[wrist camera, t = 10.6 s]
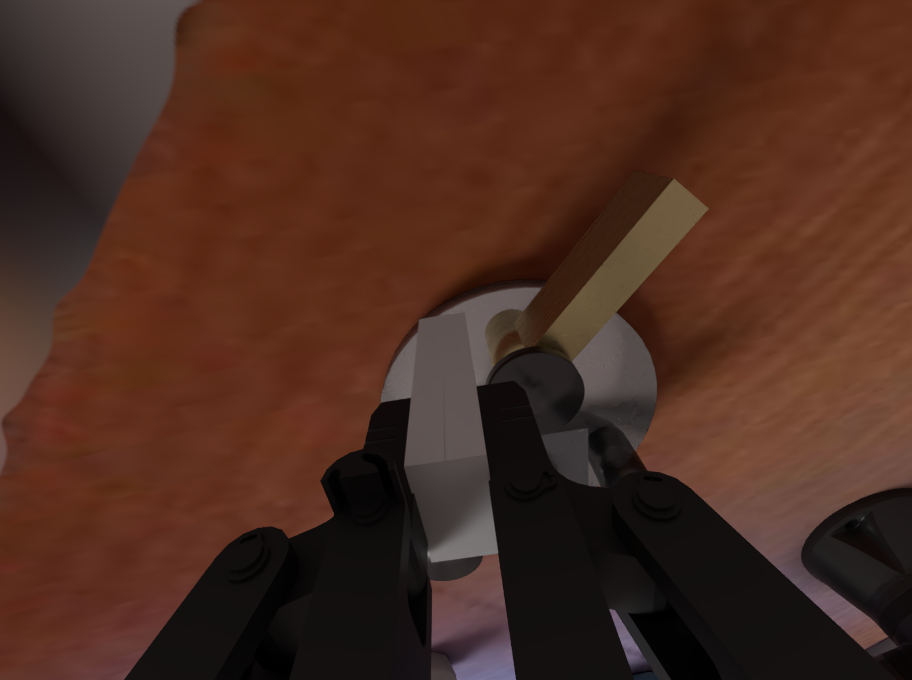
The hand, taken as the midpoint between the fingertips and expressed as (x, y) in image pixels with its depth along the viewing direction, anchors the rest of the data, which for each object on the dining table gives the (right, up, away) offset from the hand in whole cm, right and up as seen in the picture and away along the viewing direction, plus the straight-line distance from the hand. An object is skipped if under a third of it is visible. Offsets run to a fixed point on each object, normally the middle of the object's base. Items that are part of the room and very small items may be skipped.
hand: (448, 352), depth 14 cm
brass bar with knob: (+7, +4, +13) cm, 15 cm away
